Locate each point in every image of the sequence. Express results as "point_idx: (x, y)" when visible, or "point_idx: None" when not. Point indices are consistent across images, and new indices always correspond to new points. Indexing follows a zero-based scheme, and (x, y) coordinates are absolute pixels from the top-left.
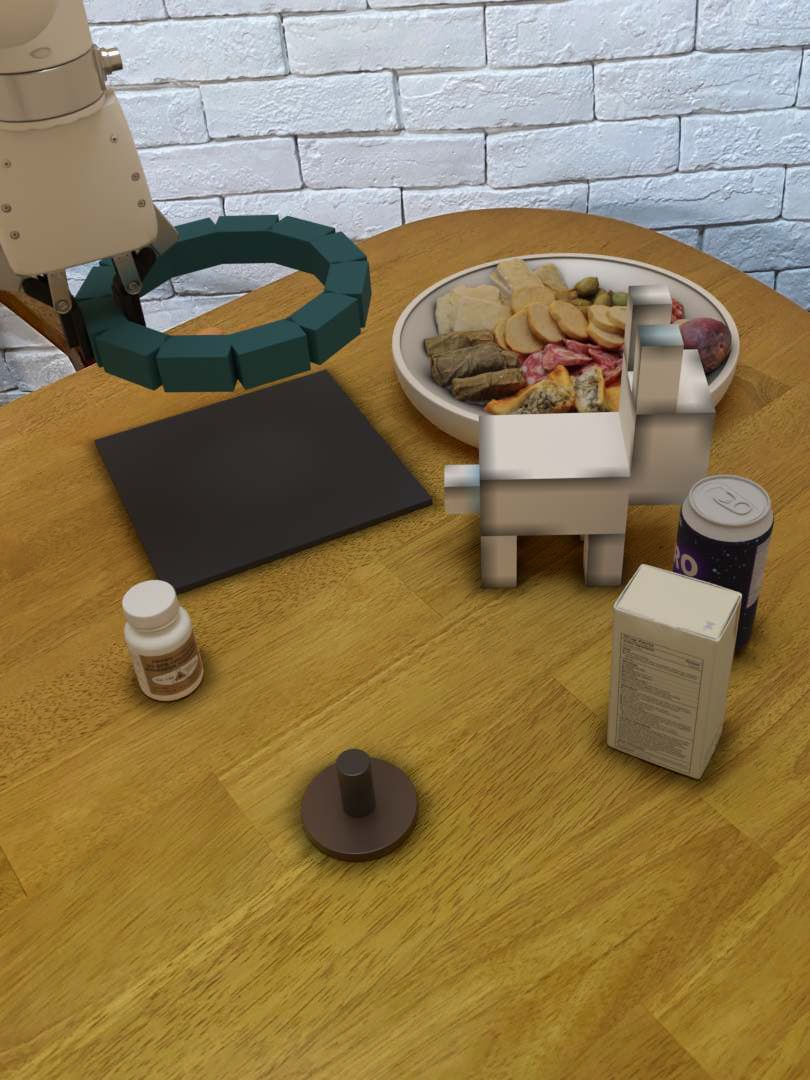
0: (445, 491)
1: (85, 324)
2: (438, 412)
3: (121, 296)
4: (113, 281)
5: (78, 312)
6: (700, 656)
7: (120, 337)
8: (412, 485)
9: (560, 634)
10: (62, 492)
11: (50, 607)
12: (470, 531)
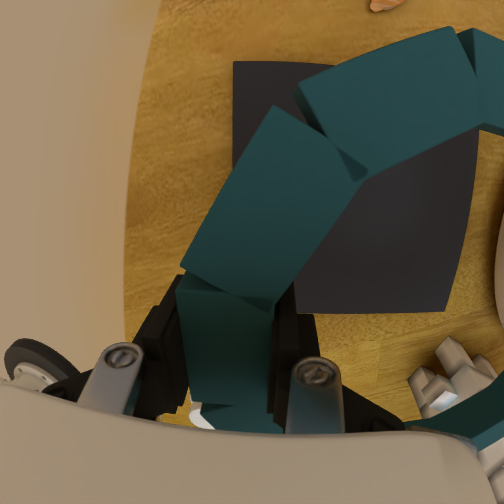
0: (427, 404)
1: (187, 388)
2: (502, 278)
3: (273, 408)
4: (280, 353)
5: (173, 413)
6: None
7: (239, 430)
8: (445, 292)
9: (408, 411)
10: (183, 125)
11: (151, 272)
12: (438, 340)
